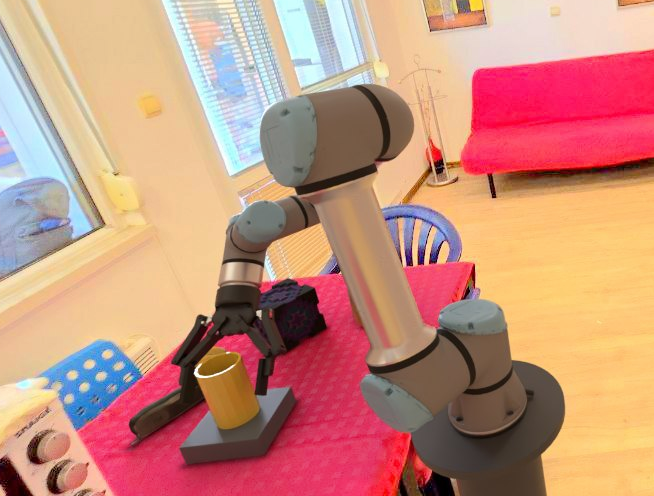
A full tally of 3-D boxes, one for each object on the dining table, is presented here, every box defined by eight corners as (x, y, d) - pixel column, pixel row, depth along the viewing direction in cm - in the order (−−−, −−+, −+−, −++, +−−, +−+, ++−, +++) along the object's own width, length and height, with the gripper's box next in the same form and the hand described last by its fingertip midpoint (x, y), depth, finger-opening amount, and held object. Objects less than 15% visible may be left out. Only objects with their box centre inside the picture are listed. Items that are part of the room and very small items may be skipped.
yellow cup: (267, 399, 104) (248, 349, 100) (248, 426, 97) (227, 375, 93) (229, 403, 104) (209, 354, 100) (208, 431, 97) (185, 379, 93)
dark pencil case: (194, 375, 112) (115, 423, 99) (203, 377, 111) (124, 427, 98) (202, 393, 114) (125, 444, 101) (211, 396, 113) (134, 447, 100)
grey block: (296, 401, 109) (291, 386, 107) (264, 455, 96) (257, 438, 94) (228, 409, 108) (221, 394, 107) (186, 464, 95) (178, 448, 94)
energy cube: (282, 354, 125) (267, 312, 120) (255, 341, 131) (240, 300, 127) (327, 328, 134) (314, 287, 130) (300, 317, 140) (287, 278, 136)
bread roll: (184, 384, 117) (177, 370, 116) (194, 361, 125) (188, 348, 124) (225, 373, 120) (220, 358, 118) (233, 351, 128) (228, 337, 126)
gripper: (311, 286, 109) (301, 393, 100) (189, 299, 108) (168, 408, 99) (293, 276, 102) (281, 389, 94) (162, 290, 101) (138, 406, 93)
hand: (223, 399), depth 96 cm, fingers open, 13 cm apart
